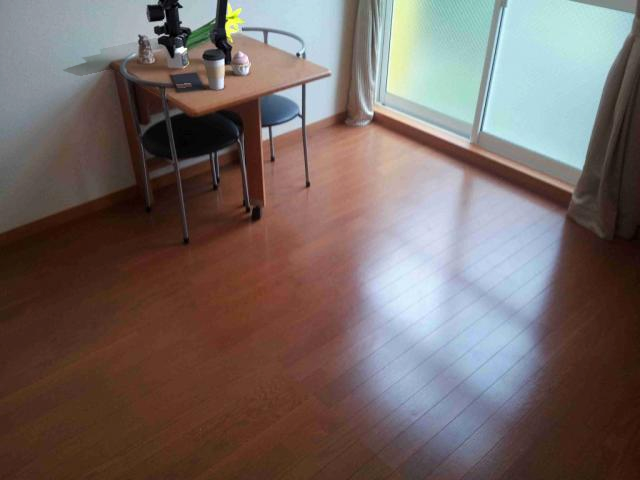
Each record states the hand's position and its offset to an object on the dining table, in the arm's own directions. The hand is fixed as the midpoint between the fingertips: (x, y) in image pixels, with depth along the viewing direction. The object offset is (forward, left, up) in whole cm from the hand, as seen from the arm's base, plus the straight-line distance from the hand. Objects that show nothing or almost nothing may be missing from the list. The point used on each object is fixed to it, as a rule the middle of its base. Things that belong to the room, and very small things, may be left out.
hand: (177, 55), depth 255 cm
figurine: (+13, -15, -6) cm, 21 cm away
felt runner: (-1, +17, -6) cm, 18 cm away
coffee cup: (-12, +26, -6) cm, 29 cm away
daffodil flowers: (-21, -29, -6) cm, 36 cm away
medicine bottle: (0, 0, -5) cm, 5 cm away
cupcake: (-25, +13, -6) cm, 29 cm away
